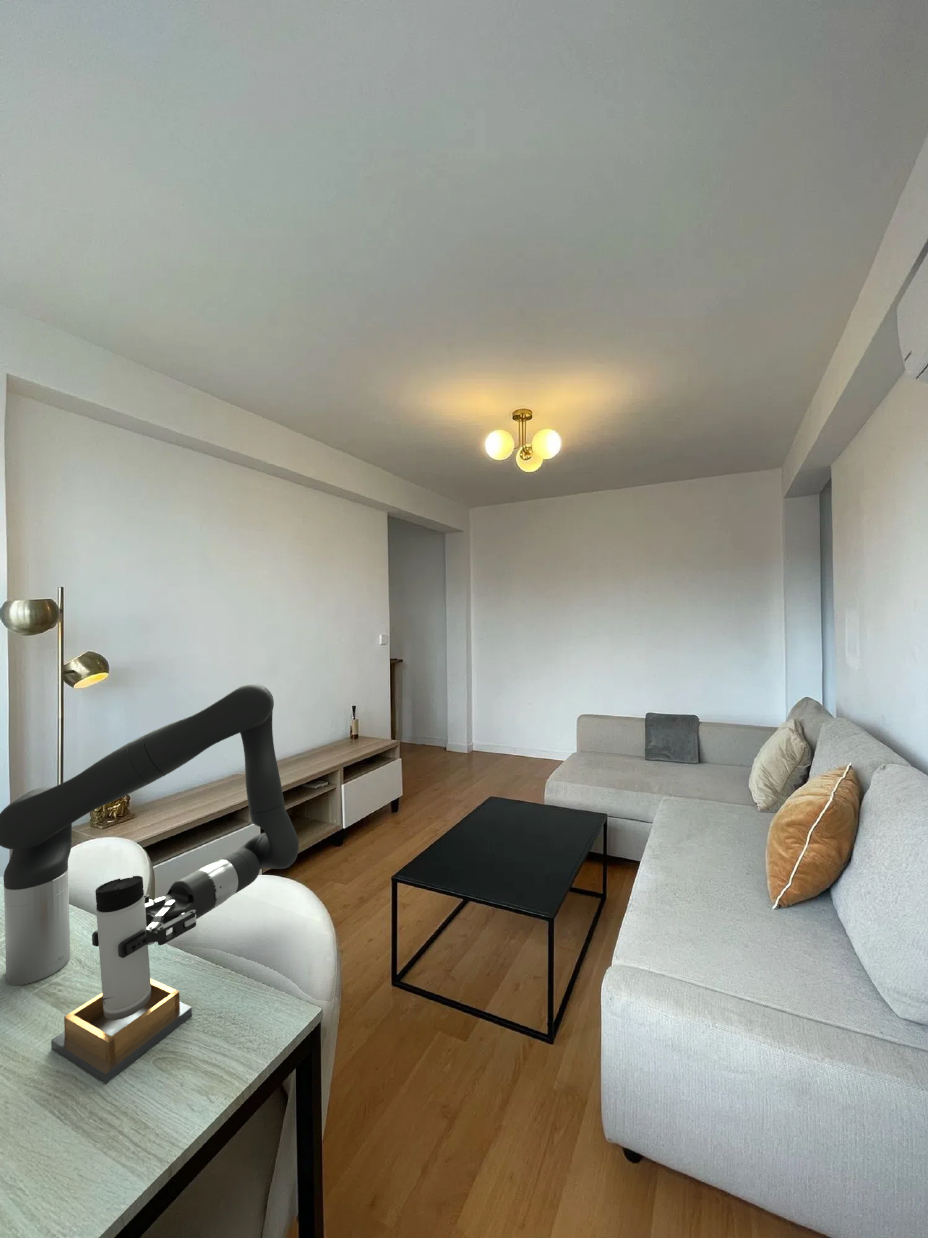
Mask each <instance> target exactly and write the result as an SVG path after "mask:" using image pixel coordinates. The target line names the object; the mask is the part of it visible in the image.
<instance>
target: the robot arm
mask: <svg viewBox="0 0 928 1238" xmlns="http://www.w3.org/2000/svg"><path fill="white" fill-rule="evenodd" d="M274 701H275V700H274V696H273V694H272V692H271V691H270V690H269V688H267V687H266V686H264V685H263V684H259V683H246V684H243V685H242V684H241V685H240V686H238V687H237V688H235V689H233V690H232V691H230V692H229V693H227V694H226V695H225V696H224V697H222V698H220V699H219V700H217V701H215V702H214V703H212V704H211V705H208V706H207V707H206V708H204V709H201V710H200V711H198V712H196V713H195V714H191V715H190V716H187V717H184V718H182V719H179V720H175V721H174V722H171V723H168V724H166V725H163V726H161V727H159V728H157V729H154V730H151V731H149V732H148V733H145V734H143V735H142V736H139V737H138V738H136V739H135V738H134V740H132V741H130V742H127V743H125V744H124V745H123V746H121V747H118V748H117V749H116V750H113V751H112V752H110V753H108V754H106V756H104V757H102V758H101V759H99V760H98V761H96V762H95V763H94V764H92V765H90V766H89V767H87V768H86V769H85V770H83V771H82V772H80V773H79V774H77V775H75V776H73V777H71V778H70V779H68V780H66V781H64V782H61V783H60V784H58V785H55V786H52V787H50V786H48V787H47V786H43V787H38V788H35V789H33V790H30V791H28V792H26V793H24V794H23V795H21V796H20V797H18V798H17V799H15V800H14V801H13V802H10V803H9V804H8V805H7V806H5V807H4V808H3V810H2V811H1V812H0V847H2V848H3V849H8V850H11V855H10V858H9V861H8V863H7V865H6V867H5V869H4V872H3V902H4V907H3V908H4V934H5V935H4V939H5V940H4V942H5V943H4V944H5V945H4V947H5V981H6V983H7V984H9V985H13V986H19V985H26V984H30V983H34V982H38V981H40V980H42V979H45V978H47V977H50V976H51V975H52V974H53V975H54V974H55V973H56V972H58V971H59V970H61V969H62V968H63V967H64V966H65V965H67V964H68V962H69V961H70V959H71V941H70V940H71V938H70V937H71V934H70V933H71V931H70V930H71V928H70V897H69V896H70V892H69V890H70V888H69V886H70V885H69V859H70V858H69V857H70V855H71V851H72V850H71V849H72V838H73V837H72V836H73V835H72V833H73V832H72V831H73V830H72V829H73V827H72V826H73V823H75V822H77V821H78V820H79V819H81V818H82V817H84V816H87V815H88V814H90V813H91V812H93V811H95V810H97V809H99V808H102V807H103V806H106V805H108V804H111V803H112V802H115V801H117V800H119V799H121V798H123V797H125V796H128V795H130V794H131V793H133V792H136V791H138V790H139V789H141V788H144V787H145V786H147V785H150V784H152V783H153V782H155V781H157V780H159V779H161V778H163V777H165V776H166V775H168V774H170V773H172V772H174V771H176V770H177V769H179V768H180V767H182V766H183V765H185V764H187V763H188V762H190V761H191V760H193V759H194V758H196V757H197V756H199V755H200V754H201V753H203V752H204V751H207V750H208V749H209V748H210V747H212V746H214V745H216V744H218V743H220V742H221V741H224V740H227V739H228V738H231V737H234V736H236V735H238V734H240V737H241V741H242V747H243V754H244V772H245V773H244V774H245V775H244V776H245V789H246V796H247V797H246V798H247V803H248V810H249V816H250V819H251V822H252V824H253V825H255V826H257V827H259V828H261V829H262V830H263V831H264V832H262V833H260V834H258V835H255V836H252V838H250V839H249V840H248V841H246V842H245V843H244V844H243V845H242V846H240V847H239V848H238V849H237V850H236V851H235V852H232V853H230V854H228V855H227V856H225V857H223V858H221V859H219V860H217V861H214V862H210V863H209V864H207V865H205V866H203V867H201V868H198V869H197V870H195V871H193V872H191V873H189V874H187V875H185V876H183V877H182V878H179V879H178V880H176V881H174V882H173V883H172V884H171V886H170V888H169V890H168V891H167V893H166V894H165V895H163V896H159V897H156V898H155V899H154V898H153V899H150V894H148V893H147V894H144V898H145V911H146V925H147V928H146V931H145V930H141V931H139V932H138V933H136V934H134V935H132V936H131V937H129V938H127V939H126V940H124V941H122V942H121V943H120V944H119V945H118V956H119V957H121V958H125V957H126V956H128V955H130V954H132V953H133V952H135V951H136V950H138V949H140V948H141V947H143V946H145V945H146V944H147V945H148V946H151V945H154V944H155V943H157V945H158V946H164V945H165V944H167V943H169V942H171V941H172V940H174V939H177V938H178V937H179V936H181V935H183V934H185V933H187V932H189V931H191V930H192V929H193V928H196V926H197V920H198V919H199V918H201V917H203V916H205V915H206V914H207V913H209V912H211V911H212V910H214V909H216V908H217V907H219V906H220V905H222V904H224V903H225V902H226V901H228V900H229V899H230V898H231V897H232V896H234V895H237V893H239V892H241V891H243V890H244V889H245V888H246V887H248V886H249V885H251V884H252V883H254V882H255V881H256V880H257V878H258V876H259V875H260V871H261V870H262V869H275V870H276V869H277V870H283V869H284V870H285V869H287V868H289V867H291V866H292V865H293V864H294V863H295V862H296V860H297V858H298V854H299V848H300V845H299V838H298V834H297V832H296V829H295V827H294V825H293V823H292V820H291V818H290V816H289V814H288V812H287V810H286V807H285V799H284V794H283V786H282V781H281V777H280V771H279V766H278V761H277V757H276V751H275V744H274V735H273V731H274V730H273V712H274V711H273V710H274V703H275V702H274ZM171 928H172V931H171V932H170V933H169V934H167V933H168V932H169V931H170V930H171ZM91 941H92V946H94V947H99V940H98V929H97V930H95V931H94V932H92V935H91Z"/></svg>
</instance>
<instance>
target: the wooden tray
mask: <svg viewBox="0 0 928 1238" xmlns="http://www.w3.org/2000/svg"><path fill="white" fill-rule="evenodd" d="M150 981H151V998H150V1000H149V1001H148V1003H147V1004H146V1005H145V1006H144V1007H143V1008H142V1009H140V1010H139V1011H138V1012H136V1013H134V1014H133V1015H131V1016H128V1017H126V1018H123V1019H119V1020H109V1019H107V1018H106V1017H105V1016H104V1010H103V996H102V992H101V993H100V994H98V995H96V996H95V997H94V998H91V999H90V1000H89V1001H87V1002H85V1003H84V1004H82V1005H81V1006H79V1007H78V1008H76V1009H74V1010H73V1011H71V1012H69V1013H68V1014H66V1015H65V1016H63V1018H64V1019H63V1020H64V1022H63V1023H64V1028H63V1029H64V1030H63V1032H61V1033H59V1034H57V1035H56V1036H55V1037H53V1038H52V1039H51V1040H50V1043H51V1044H50V1046H51V1048H50V1049H51V1051H53V1052H54V1053H56V1054H57V1055H59V1056H61V1058H63V1059H65V1060H67V1061H68V1062H70V1063H71V1064H73V1065H74V1066H76V1067H78V1068H79V1069H80V1070H83V1071H84V1072H86V1073H87V1074H89V1075H90V1076H92V1077H93V1078H95V1079H96V1080H98V1081H99V1082H101V1083H103V1084H104V1085H107V1084H108V1083H109V1082H111V1081H112V1080H113V1079H115V1078H116V1077H117V1076H118V1075H119V1074H121V1073H122V1072H124V1070H126V1069H127V1068H128V1067H129V1066H131V1065H132V1064H134V1063H135V1062H136V1061H137V1060H139V1059H140V1058H141V1057H142V1056H143V1055H145V1054H146V1053H147V1052H149V1051H150V1050H151V1049H152V1048H154V1047H155V1046H156V1045H158V1044H159V1043H160V1042H162V1040H164V1039H165V1038H167V1036H169V1035H170V1034H172V1033H173V1032H174V1031H175V1030H176V1029H177V1028H179V1027H180V1026H182V1025H183V1024H185V1022H186V1021H188V1020H189V1019H190V1018H191V1017H192V1016H193V1015H192V1014H193V1009H192V1008H193V1007H192V1006H190V1005H189V1004H186V1003H183V1002H182V1001H180V999H181V998H180V991H179V990H177V989H175V988H172V987H171V986H169V985H166V984H164V983H161V982H159V981H157V980H155V979H153V978H151V977H150Z"/></svg>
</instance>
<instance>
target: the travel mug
mask: <svg viewBox="0 0 928 1238" xmlns="http://www.w3.org/2000/svg"><path fill="white" fill-rule="evenodd" d="M94 891H95V902H96V911H95V912H96V924H97V925H96V927H97V930H98V940H99V946H98V953H99V965H100V978H101V979H100V981H101V993H102V996H103V1010H104V1016H105V1017H106V1018H107V1019H109V1020H119V1019H123V1018H126V1017H128V1016H131V1015H133V1014H134V1013H136V1012H138V1011H139V1010H140V1009H142V1008H143V1007H144V1006H145V1005H146V1004H147V1003H148V1001H149V1000H150V998H151V981H150V978H151V968H150V958H149V957H150V956H149V955H150V954H149V945H147V944H146V945H145V946H143V947H141V948H140V949H138V950H136V951H135V952H133V953H132V954H130V955H128V956H126V957H125V958H121V957H119V956H118V945H119V944H120V943H121V942H122V941H124V940H126V939H127V938H129V937H131V936H132V935H134V934H136V933H138V932H139V931H141V930H145V931H146V928H147V925H146V911H145V898H144V895H145V890H144V877H143V876H140V875H133V876H131V877H125V878H116V879H113V880H110V881H107V882H105V883H103V884H101V885H98V887H96V889H95V890H94Z"/></svg>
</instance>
